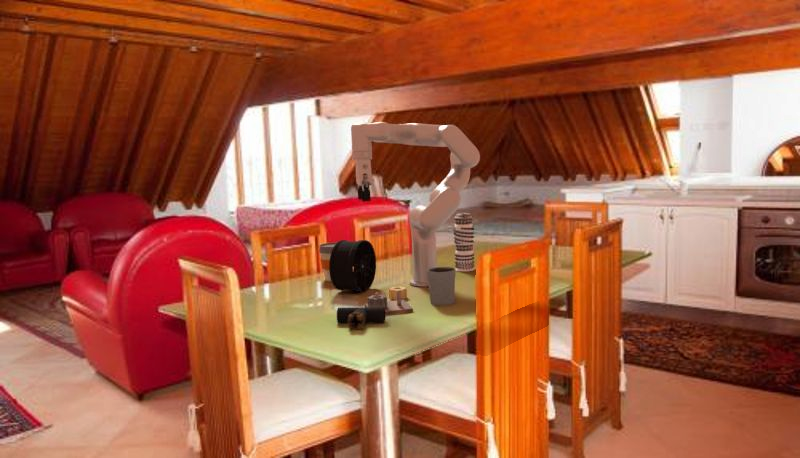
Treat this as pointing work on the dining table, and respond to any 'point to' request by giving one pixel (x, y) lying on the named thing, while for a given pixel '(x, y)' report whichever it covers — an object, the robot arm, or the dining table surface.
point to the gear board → (389, 304)
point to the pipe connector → (360, 316)
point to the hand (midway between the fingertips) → (364, 200)
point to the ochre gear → (394, 292)
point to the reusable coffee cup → (326, 258)
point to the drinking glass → (441, 285)
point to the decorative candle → (464, 242)
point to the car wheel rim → (352, 265)
